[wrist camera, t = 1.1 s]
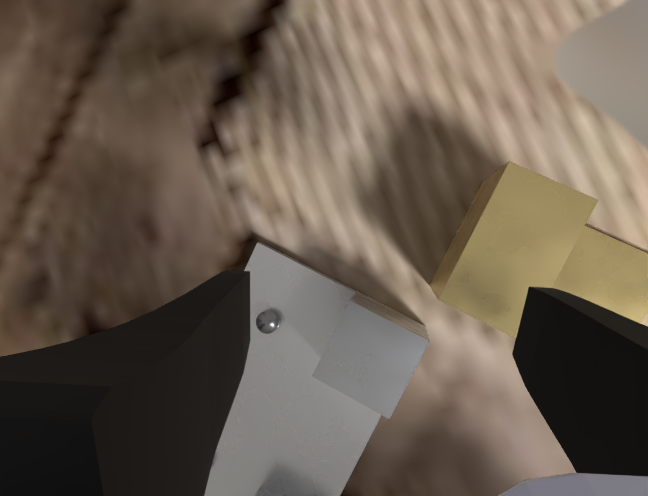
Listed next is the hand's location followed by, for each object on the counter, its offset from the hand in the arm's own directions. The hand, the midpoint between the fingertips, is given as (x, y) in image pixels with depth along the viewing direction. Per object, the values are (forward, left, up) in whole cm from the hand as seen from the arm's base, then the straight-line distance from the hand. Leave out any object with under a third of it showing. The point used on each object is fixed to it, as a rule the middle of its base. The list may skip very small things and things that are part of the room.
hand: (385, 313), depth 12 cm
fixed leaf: (+2, +10, -12) cm, 16 cm away
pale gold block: (-7, -3, -13) cm, 15 cm away
